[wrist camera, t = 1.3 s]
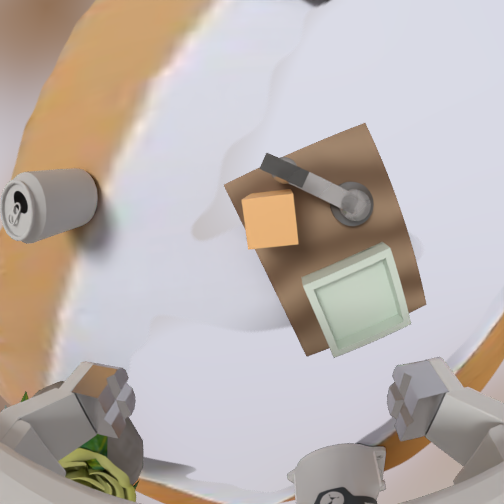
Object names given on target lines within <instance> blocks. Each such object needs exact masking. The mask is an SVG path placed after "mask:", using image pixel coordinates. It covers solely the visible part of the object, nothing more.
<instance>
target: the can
mask: <svg viewBox="0 0 504 504" xmlns="http://www.w3.org/2000/svg"><path fill="white" fill-rule="evenodd" d="M97 200H98V196H97V188H96V185H95V183H94V180H93V179H92V177H91V176H90V175H89V173H87V172H86V171H84V170H82V169H77V168H74V169H57V170H43V171H31V172H23V173H20V174H18V175H17V176H16V177H15V178H14V179H13V180H11V181H9V183H8V184H7V185H6V186H5V188H4V190H3V192H2V195H1V200H0V215H1V220H2V224H3V227H4V229H5V230H6V232H7V234H8V235H9V236H10V237H11V238H12V239H14V240H16V241H22V242H24V243H26V244H27V243H34V242H37V241H40V240H42V239H45V238H48V237H51V236H53V235H56V234H59V233H62V232H65V231H68V230H71V229H74V228H77V227H80V226H83V225H84V224H86V223H88V222H89V221H90V219H91V218H92V217H93V215H94V213H95V210H96V208H97Z"/></svg>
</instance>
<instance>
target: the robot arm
mask: <svg viewBox="0 0 504 504" xmlns="http://www.w3.org/2000/svg"><path fill="white" fill-rule="evenodd" d="M393 379H394V381H395V382H394V383H393V384H392V385H391V386H390V387H389V391H388V395H387V404H388V410H389V413H390V415H391V416H392V417H394V418H395V419H397V420H396V423H395V428H396V431H397V434H398V436H399V439H400V441H405V440H409V439H414V438H418V437H422V436H425V437H426V438H427V439H428V440H430V441H431V442H432V443H434V444H435V445H436V446H437V447H439V448H440V449H441V450H443V451H444V452H445V453H447V454H448V455H449V456H450V457H452V458H453V459H454V460H456V461H457V462H458V463H460V464H461V465H462V466H464V467H463V468H462V470H461V471H460V472H459V473H458V475H457V476H456V477H455V479H454V481H453V482H454V485H453V486H450V487H448V488H445V489H442V490H440V491H437V492H434V493H431V494H428V495H425V496H422V497H419V498H416V499H413V500H409V501H406V502H403V503H399V504H504V403H502V402H501V401H498V400H496V399H494V398H492V397H489V396H487V395H485V394H483V393H480V392H478V391H476V390H474V389H472V388H469V387H465V388H464V387H463V386H462V384H461V383H460V382H459V380H458V379H457V377H456V376H455V375H454V373H453V372H452V371H451V369H450V368H449V366H448V365H447V364H446V362H445V361H444V360H443V359H442V358H440V357H437V358H432V359H428V360H425V361H419V362H414V363H409V364H403V365H397V366H396V368H395V369H394V372H393ZM127 380H128V375H127V373H126V370H125V369H123V368H120V367H114V366H109V365H103V364H98V363H97V364H96V363H92V362H87V361H85V362H82V363H81V364H80V365H79V366H78V367H77V368H76V369H75V370H74V372H73V373H72V374H71V375H70V376H69V377H68V379H67V380H66V381H65V382H64V383H63V384H62V386H61V387H60V388H59V389H58V388H54V389H52V390H49V391H47V392H45V393H42V394H40V395H37V396H35V397H33V398H30V399H28V400H25V401H23V402H20V403H18V404H16V405H13V406H11V407H9V408H6V409H3V410H2V412H1V413H0V504H140V503H136V502H133V501H129V500H126V499H123V498H119V497H116V496H113V495H110V494H107V493H104V492H101V491H98V490H96V489H93V488H90V487H88V486H85V485H83V484H80V483H78V482H75V481H73V480H71V479H68V478H66V477H65V475H66V471H65V470H64V468H63V467H62V466H61V465H60V464H59V462H58V461H59V460H61V459H62V458H64V457H65V456H67V455H68V454H70V453H71V452H73V451H74V450H76V449H77V448H79V447H80V446H81V445H83V444H84V443H86V442H87V441H89V440H90V439H92V438H93V437H94V436H96V435H97V434H100V435H104V436H109V437H113V438H117V439H119V437H120V435H121V433H122V432H123V430H124V428H125V426H126V422H125V418H127V417H129V416H130V415H131V414H132V412H133V410H134V407H135V394H134V391H133V389H132V388H131V387H130V386H129V385H128V384H127V383H126V382H127ZM385 457H386V449H385V447H369V446H365V445H361V444H353V443H350V444H349V443H347V444H337V445H332V446H327V447H324V448H321V449H318V450H315V451H313V452H311V453H309V454H308V455H306V456H305V457H303V458H302V459H301V460H300V461H299V463H298V465H297V467H296V468H295V469H294V470H292V471H291V472H289V473H288V474H287V478H288V480H289V481H291V482H292V483H294V484H295V500H296V504H377V501H376V499H377V496H378V494H379V491H383V490H385V489H386V485H385V481H384V480H382V479H383V472H384V465H385Z"/></svg>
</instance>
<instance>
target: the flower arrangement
mask: <svg viewBox="0 0 504 504" xmlns="http://www.w3.org/2000/svg"><path fill="white" fill-rule="evenodd" d="M63 383H64V382H63V381H60V382H57V383H55V384H52V385H50V386H47V387H45V388H43V389H41V390H39V391H38V392H37V393H36V394H35V395H34V396H33V397H35V396H37V395H40V394H42V393H45V392H47V391H49V390H52V389H54V388H58V389H59V388H60V387H61V386H62V384H63ZM33 397H32V398H33ZM25 400H28V396H27V392H25V394H24V396H23V398H22V400H21V402H23V401H25ZM6 408H7V407H6V405H5V409H6ZM1 412H2V411H1ZM125 422H126V426H125V428H124V430H123V432H122V433H121V435H120V437H119V439H117V438H113V437H109V436H104V435H100V434H97V435H96V436H94V437H93V438H92V439H90V440H89V441H87V442H86V443H84V444H83V445H81V446H80V447H79V448H77V449H76V450H74V451H73V452H71V453H70V454H68V455H67V456H65V457H64V458H62V459H61V460H59V461H58V462H59V464H60V465H61V466H62V467H63V468H64V470H65V471H66V475H65V477H66V478H68V479H71V480H73V481H75V482H78V483H80V484H83V485H85V486H88V487H90V488H93V489H96V490H98V491H101V492H104V493H107V494H110V495H113V496H116V497H119V498H123V499H126V500H129V501H133V502H136V493H135V489H136V487H137V484H138V482H139V481H138V482H137V483H136V484H135V485H134V486H133V484H134V483H135V482H136V481H137V480H138V477H139V475H140V472H141V470H142V468H143V440H142V439H141V437H140V435H139V434H138V432H137V430H136V429H135V427H134V425H133V424H132V422H131V420H130V419H129V417H127V418H125Z"/></svg>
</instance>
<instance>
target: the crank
mask: <svg viewBox="0 0 504 504" xmlns="http://www.w3.org/2000/svg"><path fill="white" fill-rule="evenodd" d="M260 169H261V170H263V171H265V172H267V173H270V174H271V175H272V177H273V178H274V180H276V181H277V182H279V183H282V184H287V183H289V184H291V185H293V186H295V187H297V188H300V189H302V190H304V191H306V192H308V193H310V194H312V195H314V196H316V197H319V198H321V199H323V200H325V201H327V202H329V203H331V204H333V205H335V206H337V207H339V210H340V212H341V213H342V215H343V216H345V217H346V218H347V219H349V220H351V221H360V220H363V219H364V218H366V217H367V215H368V214H369V212H370V209H371V203H370V199H369V197H368V196H367V195H366V194H365V193H364V192H363V191H360V190H356V189H350V190H345V189H343V188H341V187H339V186H337V185H335V184H333V183H331V182H329V181H327V180H325V179H323V178H321V177H319V176H317V175H315V174H313V173H311V172H309V171H306V170H304V169H302V168H300V167H298V166H297V165H296V163H295V162H294V161H293V160H292V159H290V158H287V157H281V158H278V157H275V156H273V155H271V154H268V153H266V155H265V158H264V160H263V162H262V164H261V167H260Z"/></svg>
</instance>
